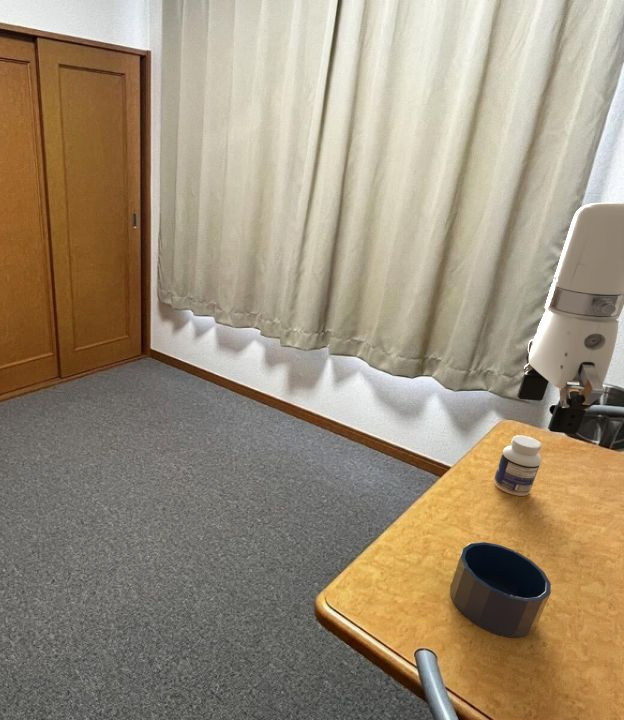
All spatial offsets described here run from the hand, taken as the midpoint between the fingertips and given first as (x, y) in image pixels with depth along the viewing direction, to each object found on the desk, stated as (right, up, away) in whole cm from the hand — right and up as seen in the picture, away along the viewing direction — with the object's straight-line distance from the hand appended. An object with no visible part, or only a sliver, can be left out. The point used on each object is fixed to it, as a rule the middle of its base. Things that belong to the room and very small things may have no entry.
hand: (544, 414), depth 69 cm
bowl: (-12, -25, -6) cm, 28 cm away
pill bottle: (+8, -15, +16) cm, 24 cm away
